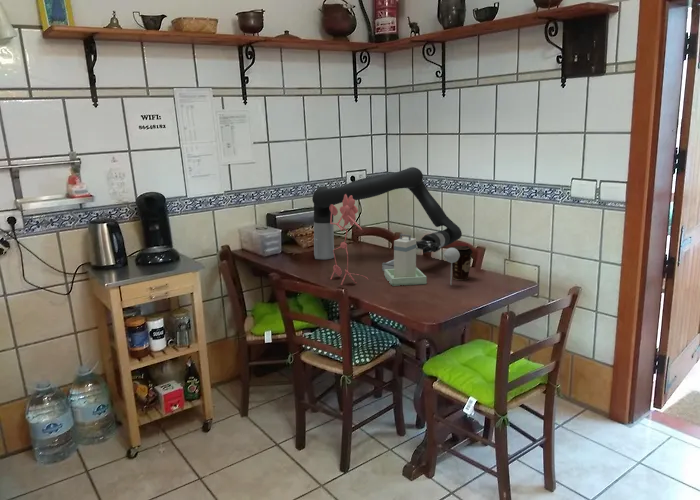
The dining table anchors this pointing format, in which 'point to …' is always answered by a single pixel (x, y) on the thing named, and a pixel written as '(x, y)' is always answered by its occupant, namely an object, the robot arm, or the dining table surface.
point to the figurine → (348, 216)
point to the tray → (405, 278)
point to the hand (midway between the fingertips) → (414, 249)
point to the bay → (388, 265)
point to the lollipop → (451, 257)
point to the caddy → (405, 257)
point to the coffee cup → (462, 263)
